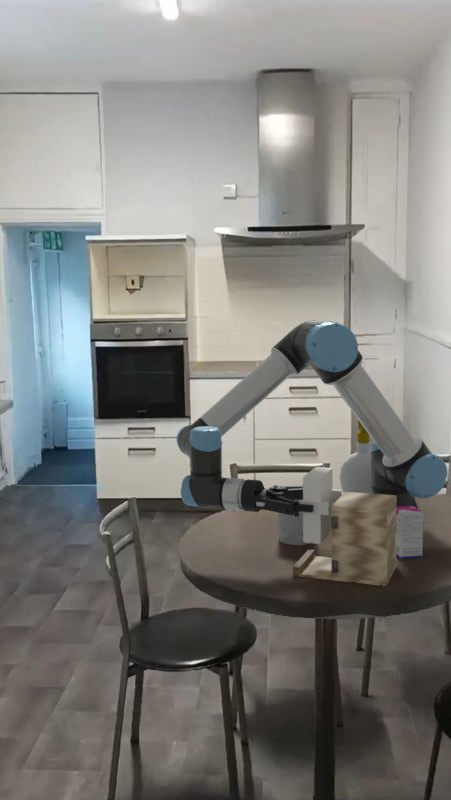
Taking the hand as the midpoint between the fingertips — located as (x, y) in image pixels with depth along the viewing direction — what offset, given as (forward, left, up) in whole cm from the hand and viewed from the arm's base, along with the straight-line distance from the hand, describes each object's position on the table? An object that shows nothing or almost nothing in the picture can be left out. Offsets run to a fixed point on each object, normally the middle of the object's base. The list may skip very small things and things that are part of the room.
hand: (335, 502), depth 184 cm
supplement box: (-20, -7, -16) cm, 27 cm away
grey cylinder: (+3, -25, -16) cm, 30 cm away
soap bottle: (-25, -55, -16) cm, 62 cm away
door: (+4, -2, -8) cm, 9 cm away
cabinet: (-2, +2, -16) cm, 16 cm away
